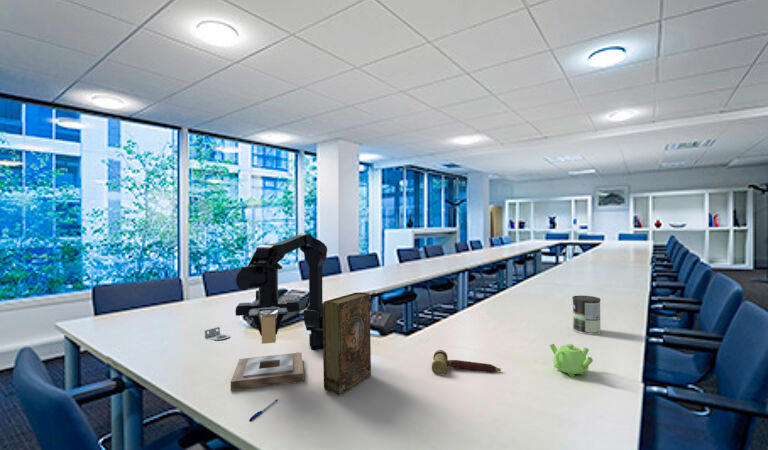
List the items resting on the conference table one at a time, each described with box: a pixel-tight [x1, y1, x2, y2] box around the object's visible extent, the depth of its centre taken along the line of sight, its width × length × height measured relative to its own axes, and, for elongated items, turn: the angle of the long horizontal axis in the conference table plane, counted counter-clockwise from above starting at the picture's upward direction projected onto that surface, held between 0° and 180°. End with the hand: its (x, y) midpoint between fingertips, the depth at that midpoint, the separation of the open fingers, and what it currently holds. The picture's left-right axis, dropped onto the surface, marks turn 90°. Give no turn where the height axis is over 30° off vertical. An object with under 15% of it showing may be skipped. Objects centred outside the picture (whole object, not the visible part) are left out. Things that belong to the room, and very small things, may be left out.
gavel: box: [431, 349, 502, 375], centre depth 111 cm, size 21×5×10 cm
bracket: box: [204, 326, 231, 341], centre depth 149 cm, size 7×10×4 cm, turn 57°
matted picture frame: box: [230, 352, 305, 392], centre depth 111 cm, size 20×18×3 cm
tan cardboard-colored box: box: [261, 313, 277, 345], centre depth 111 cm, size 4×4×8 cm
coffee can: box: [572, 295, 602, 336], centre depth 149 cm, size 10×10×14 cm
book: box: [322, 291, 372, 396], centre depth 103 cm, size 16×6×25 cm, turn 148°
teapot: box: [549, 343, 594, 378], centre depth 109 cm, size 11×12×8 cm
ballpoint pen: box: [249, 398, 278, 422], centre depth 89 cm, size 10×1×1 cm, turn 163°
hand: (268, 334), depth 111 cm, fingers closed on tan cardboard-colored box, 4 cm apart
